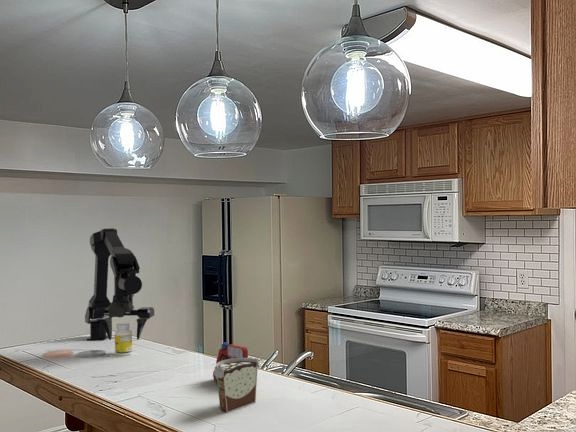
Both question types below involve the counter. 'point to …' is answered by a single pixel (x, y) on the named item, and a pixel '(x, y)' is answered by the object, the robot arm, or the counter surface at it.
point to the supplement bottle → (123, 339)
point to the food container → (236, 383)
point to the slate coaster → (91, 353)
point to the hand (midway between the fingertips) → (124, 339)
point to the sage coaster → (120, 356)
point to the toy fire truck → (230, 354)
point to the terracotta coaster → (58, 353)
